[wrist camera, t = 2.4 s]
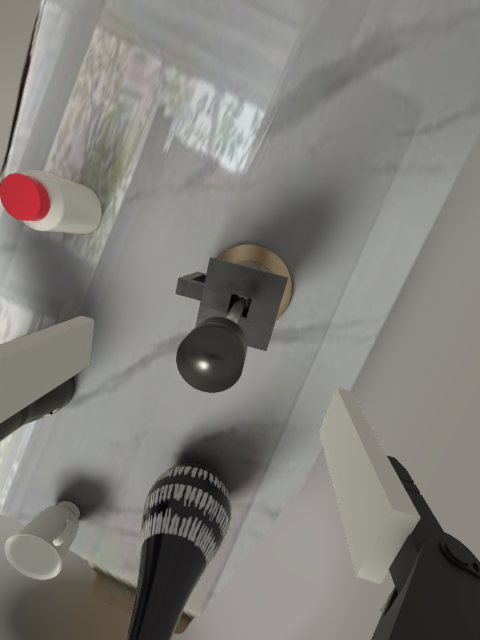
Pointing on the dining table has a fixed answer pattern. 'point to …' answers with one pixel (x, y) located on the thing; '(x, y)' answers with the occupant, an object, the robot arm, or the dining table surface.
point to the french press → (241, 281)
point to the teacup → (44, 541)
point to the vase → (177, 545)
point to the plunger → (215, 350)
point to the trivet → (266, 259)
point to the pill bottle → (50, 202)
